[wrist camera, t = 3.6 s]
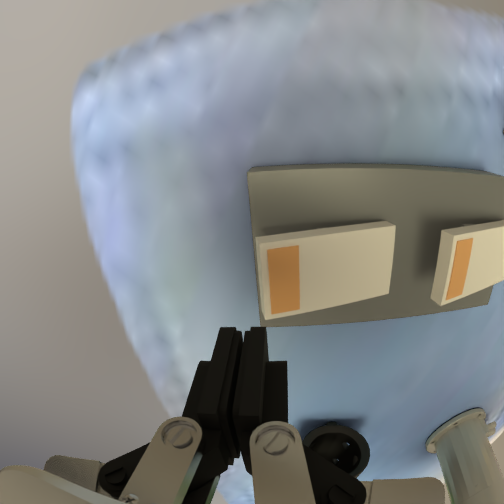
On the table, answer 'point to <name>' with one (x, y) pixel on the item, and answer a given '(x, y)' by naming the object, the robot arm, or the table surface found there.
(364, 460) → the muzzle brake
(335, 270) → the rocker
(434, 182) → the switch block
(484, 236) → the block
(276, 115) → the table surface
